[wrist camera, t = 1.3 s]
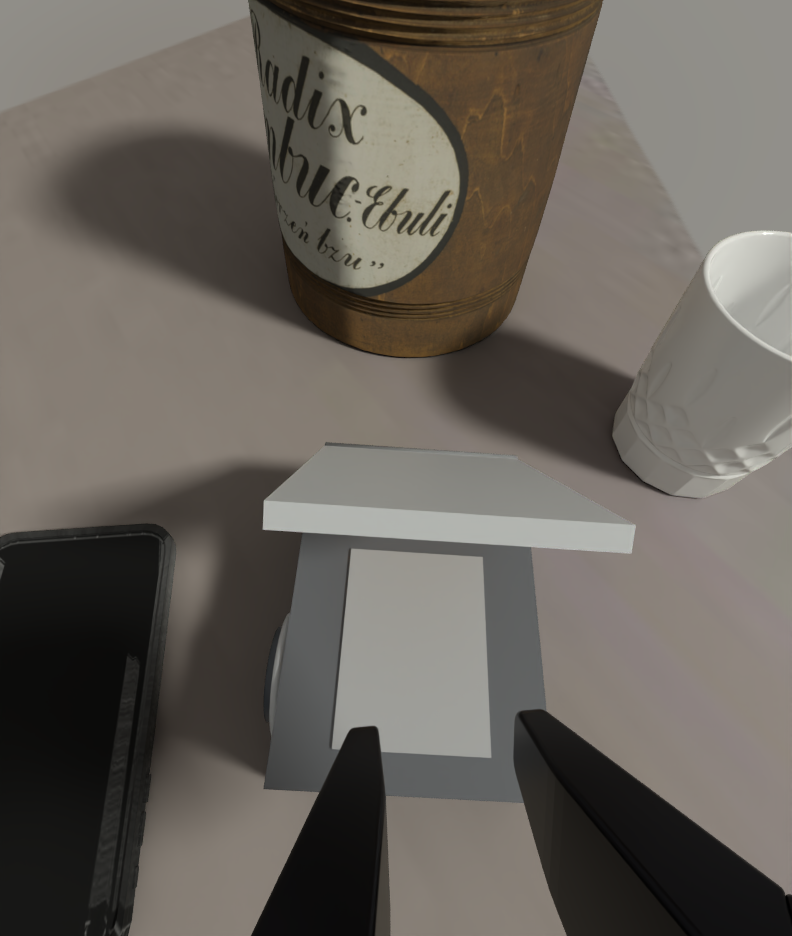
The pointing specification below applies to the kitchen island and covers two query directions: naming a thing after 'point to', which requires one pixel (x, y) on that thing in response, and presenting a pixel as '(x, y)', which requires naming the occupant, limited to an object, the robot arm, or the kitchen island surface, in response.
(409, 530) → the side door
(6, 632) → the phone
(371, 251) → the wooden container
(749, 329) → the white cup
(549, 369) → the kitchen island surface
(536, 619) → the camera case
